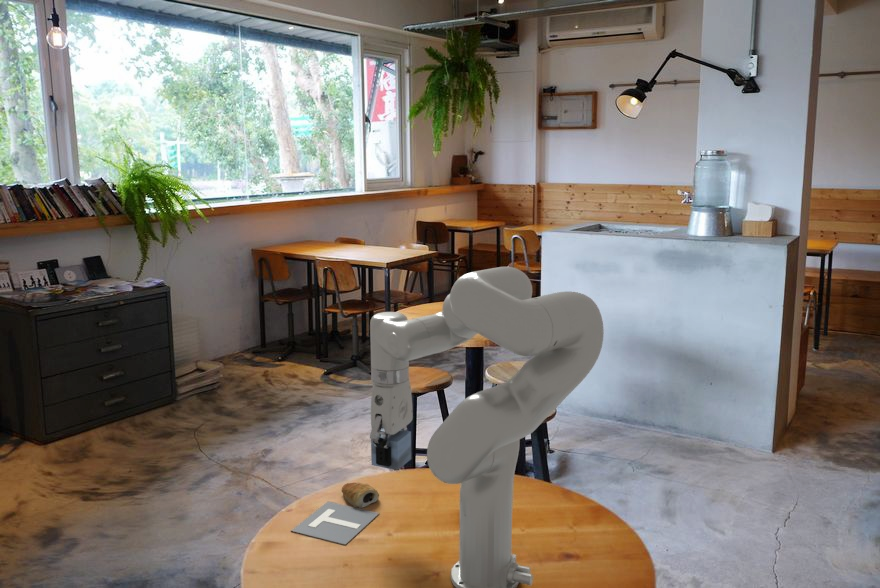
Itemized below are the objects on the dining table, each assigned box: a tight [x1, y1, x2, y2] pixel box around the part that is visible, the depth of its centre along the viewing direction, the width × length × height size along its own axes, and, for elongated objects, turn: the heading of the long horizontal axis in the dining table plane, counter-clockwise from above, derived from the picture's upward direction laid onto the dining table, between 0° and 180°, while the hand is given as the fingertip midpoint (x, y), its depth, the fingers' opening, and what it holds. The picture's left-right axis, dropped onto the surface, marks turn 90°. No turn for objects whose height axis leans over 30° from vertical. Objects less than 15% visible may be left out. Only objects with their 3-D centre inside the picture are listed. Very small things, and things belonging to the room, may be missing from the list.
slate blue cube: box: [370, 428, 412, 471], centre depth 156 cm, size 6×6×6 cm
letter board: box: [290, 501, 380, 546], centre depth 161 cm, size 13×14×1 cm
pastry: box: [341, 482, 380, 509], centre depth 172 cm, size 9×7×4 cm
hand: (391, 457), depth 156 cm, fingers closed on slate blue cube, 6 cm apart
